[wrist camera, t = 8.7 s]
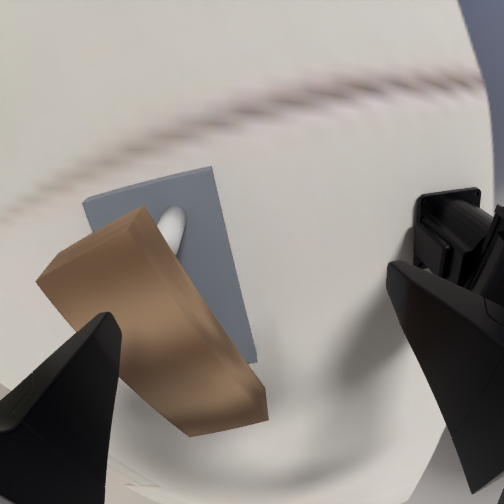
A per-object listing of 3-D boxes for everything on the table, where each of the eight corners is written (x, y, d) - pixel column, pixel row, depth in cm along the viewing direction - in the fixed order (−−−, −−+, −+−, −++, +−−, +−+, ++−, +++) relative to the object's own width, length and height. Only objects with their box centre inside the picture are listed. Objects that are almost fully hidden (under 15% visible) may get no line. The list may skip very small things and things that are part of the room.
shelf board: (265, 387, 22) (268, 420, 20) (191, 406, 23) (189, 437, 21) (144, 204, 15) (126, 230, 12) (58, 253, 16) (35, 281, 13)
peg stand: (87, 197, 20) (54, 228, 15) (211, 166, 19) (205, 190, 15) (163, 365, 28) (155, 408, 23) (256, 353, 28) (260, 398, 23)
